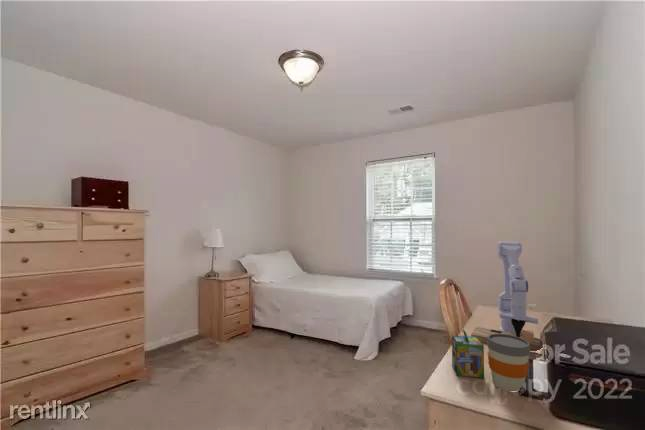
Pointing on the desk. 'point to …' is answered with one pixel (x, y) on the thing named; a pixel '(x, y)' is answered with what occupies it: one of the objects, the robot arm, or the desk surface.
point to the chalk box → (467, 356)
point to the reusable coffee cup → (508, 361)
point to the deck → (485, 332)
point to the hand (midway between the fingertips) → (518, 336)
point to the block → (528, 336)
